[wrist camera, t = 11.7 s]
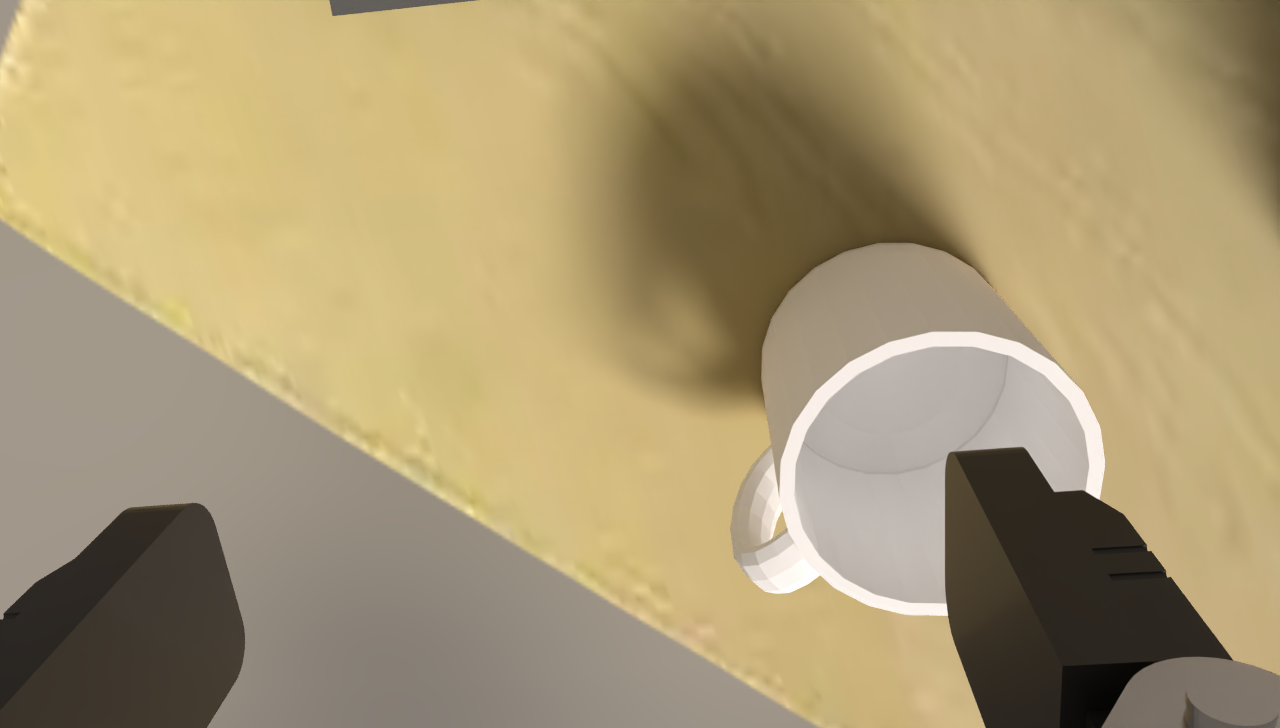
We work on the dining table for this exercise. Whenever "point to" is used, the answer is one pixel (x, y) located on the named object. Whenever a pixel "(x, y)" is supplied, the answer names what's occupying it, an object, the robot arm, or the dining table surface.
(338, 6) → the grey flat rectangular frame
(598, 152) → the dining table surface
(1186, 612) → the robot arm
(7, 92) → the dining table surface
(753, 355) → the dining table surface
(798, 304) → the mug
